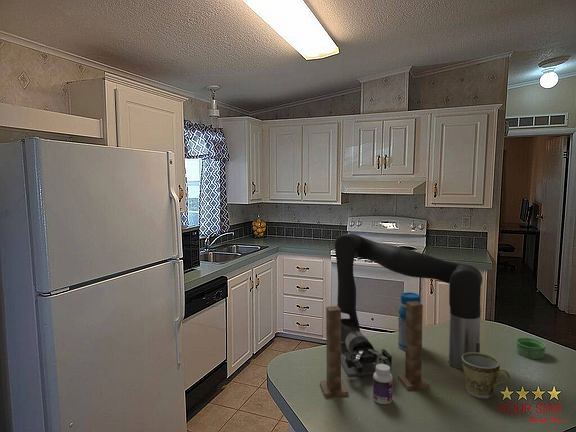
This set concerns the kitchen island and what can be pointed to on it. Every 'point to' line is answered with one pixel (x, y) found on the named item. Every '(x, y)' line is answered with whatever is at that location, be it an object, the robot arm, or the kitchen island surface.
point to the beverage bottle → (402, 317)
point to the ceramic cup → (481, 374)
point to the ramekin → (530, 348)
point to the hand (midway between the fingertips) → (375, 369)
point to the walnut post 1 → (333, 355)
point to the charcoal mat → (367, 370)
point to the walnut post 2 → (413, 348)
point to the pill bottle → (382, 384)
